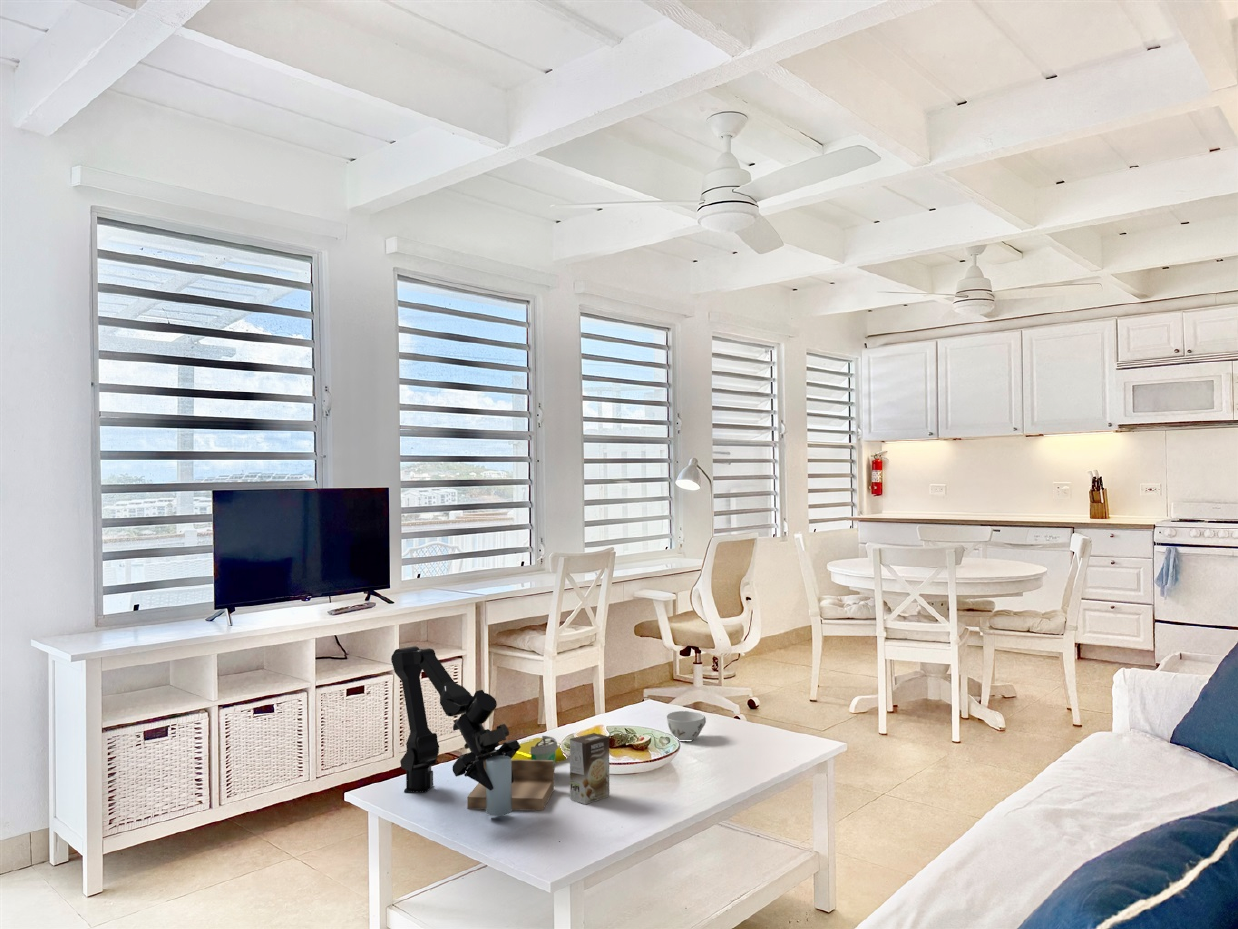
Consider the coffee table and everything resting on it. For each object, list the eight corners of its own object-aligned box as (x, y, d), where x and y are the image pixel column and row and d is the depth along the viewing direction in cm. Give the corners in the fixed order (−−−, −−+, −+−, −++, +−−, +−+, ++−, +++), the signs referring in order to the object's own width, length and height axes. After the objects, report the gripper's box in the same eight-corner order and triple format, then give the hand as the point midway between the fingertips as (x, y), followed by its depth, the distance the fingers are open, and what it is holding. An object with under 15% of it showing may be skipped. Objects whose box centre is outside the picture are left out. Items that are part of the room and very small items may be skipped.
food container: (551, 783, 241) (551, 748, 242) (530, 782, 243) (530, 747, 243) (563, 770, 254) (562, 736, 254) (543, 769, 255) (542, 735, 255)
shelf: (467, 808, 223) (467, 777, 223) (483, 787, 239) (483, 759, 239) (542, 810, 221) (542, 779, 221) (553, 789, 237) (553, 760, 237)
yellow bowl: (538, 750, 275) (538, 735, 276) (570, 759, 265) (569, 744, 265) (501, 761, 265) (501, 745, 265) (532, 771, 254) (532, 755, 254)
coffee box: (585, 805, 224) (584, 743, 225) (569, 799, 229) (568, 738, 229) (610, 796, 231) (609, 736, 231) (594, 790, 235) (593, 732, 236)
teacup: (682, 747, 274) (682, 722, 274) (659, 738, 285) (658, 714, 285) (718, 739, 283) (717, 715, 283) (694, 731, 293) (694, 707, 293)
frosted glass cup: (483, 815, 213) (482, 763, 214) (489, 806, 220) (489, 755, 220) (508, 816, 213) (508, 763, 213) (514, 807, 219) (513, 755, 219)
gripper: (459, 723, 213) (488, 777, 205) (515, 708, 226) (544, 758, 219) (440, 749, 217) (467, 803, 210) (496, 733, 231) (524, 783, 224)
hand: (502, 786), depth 215 cm, fingers closed on frosted glass cup, 6 cm apart
